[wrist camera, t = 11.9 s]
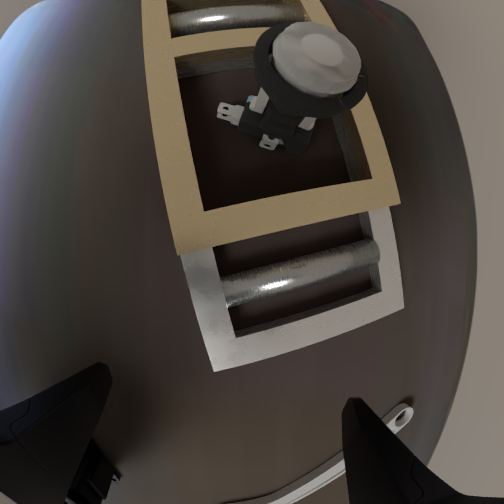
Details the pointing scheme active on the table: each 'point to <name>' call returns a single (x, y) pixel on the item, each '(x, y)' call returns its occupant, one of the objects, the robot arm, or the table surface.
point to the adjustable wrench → (327, 468)
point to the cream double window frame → (272, 208)
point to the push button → (298, 84)
